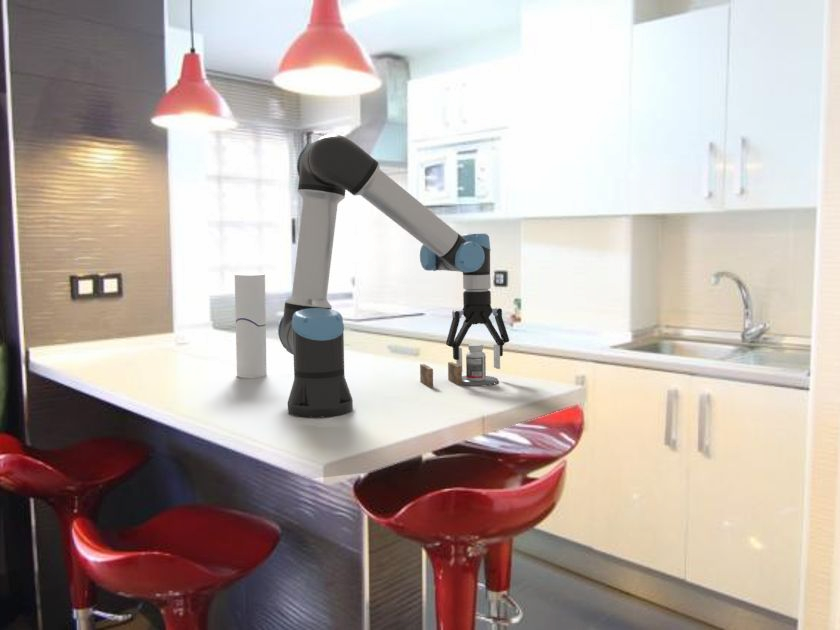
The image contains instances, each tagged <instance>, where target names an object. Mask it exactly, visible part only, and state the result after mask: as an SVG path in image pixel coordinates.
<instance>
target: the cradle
mask: <svg viewBox="0 0 840 630" xmlns="http://www.w3.org/2000/svg"><path fill="white" fill-rule="evenodd" d="M419 365H420V366H419V372H420V373H419V375H420V377H419V379H420V381H419V382H420V383H422V384H423V385H424V386H426V387H427V388H429V389H430V388H431V389H432V388H434V369H433V367H430V366H429V365H427V364H426V363H421V364H419ZM447 374H448V375H447V377H448V379H447V380H448V381H449V382H451V383H453V384H455V385H456V386H463V385H462V376H463V366H462V367H461V366H459V365H457V364H456V363H454V362H453V361H451V362H450V361H449V362H447Z"/></svg>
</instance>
